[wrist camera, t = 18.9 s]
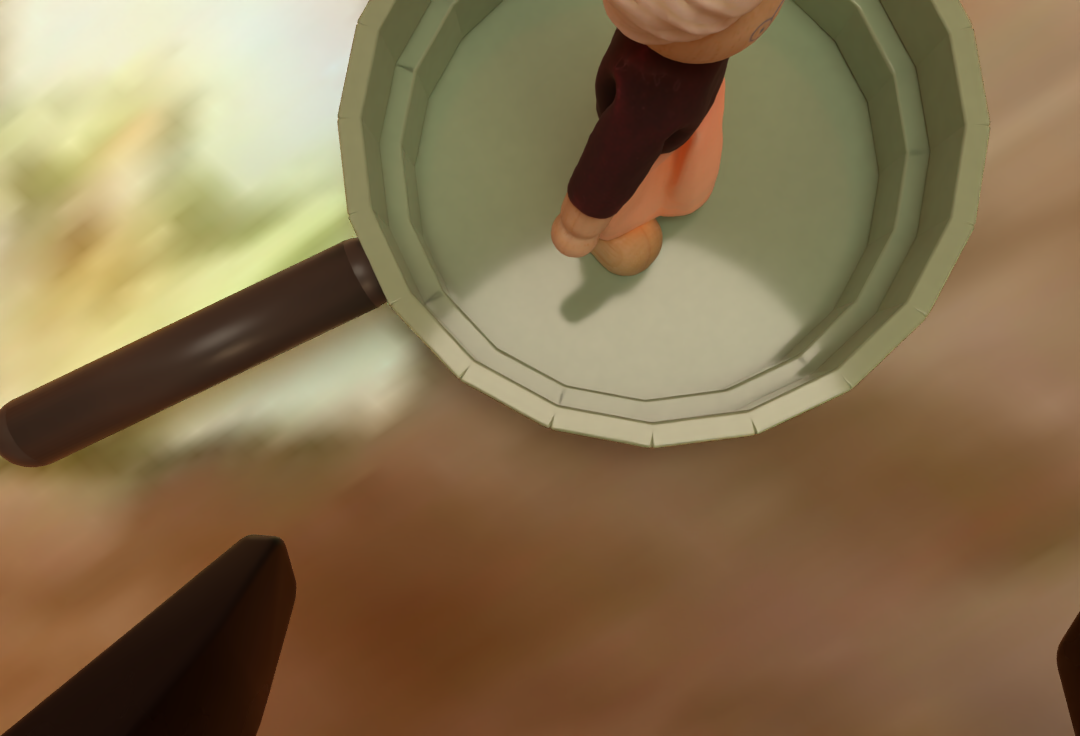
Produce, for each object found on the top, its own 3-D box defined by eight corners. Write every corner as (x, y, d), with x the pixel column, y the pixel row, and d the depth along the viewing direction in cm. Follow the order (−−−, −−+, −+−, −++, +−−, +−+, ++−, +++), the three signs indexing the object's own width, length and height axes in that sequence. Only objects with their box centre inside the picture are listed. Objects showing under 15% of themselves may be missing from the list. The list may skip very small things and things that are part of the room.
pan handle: (40, 476, 20) (-12, 482, 18) (14, 413, 20) (-40, 413, 19) (417, 296, 20) (401, 284, 18) (388, 234, 20) (370, 216, 18)
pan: (517, 530, 22) (504, 555, 18) (300, 62, 23) (240, -16, 19) (1005, 298, 22) (1107, 268, 18) (761, -161, 23) (803, -289, 19)
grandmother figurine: (670, 326, 22) (806, 196, 9) (538, 289, 22) (493, 111, 9) (744, 67, 22) (971, -399, 10) (614, 33, 22) (667, -465, 10)
